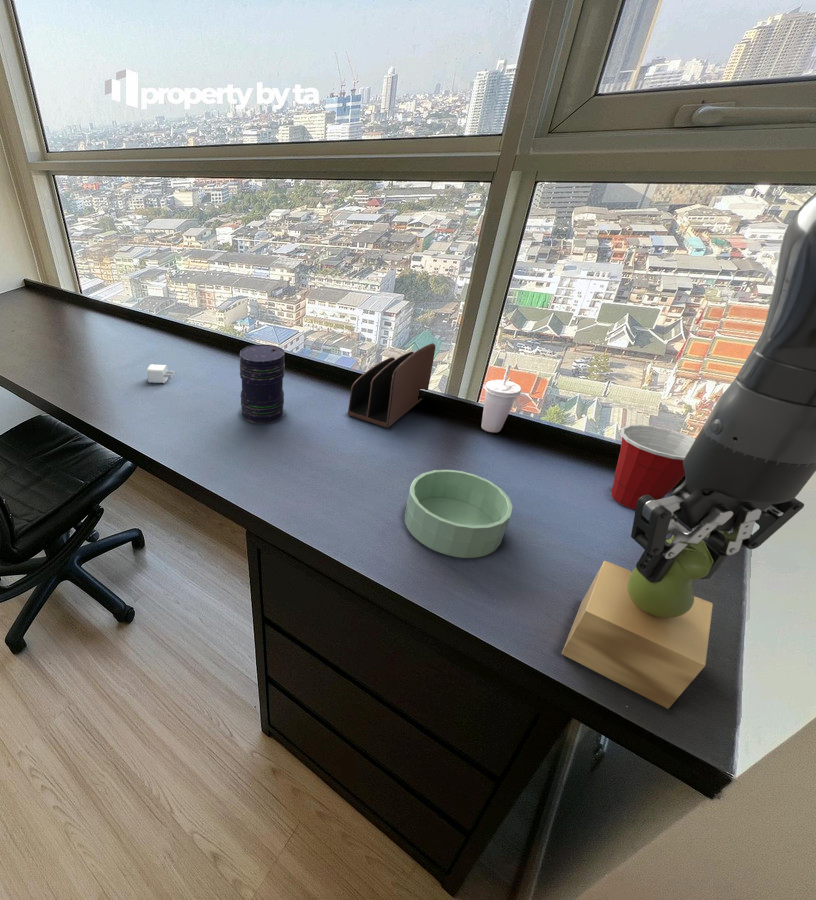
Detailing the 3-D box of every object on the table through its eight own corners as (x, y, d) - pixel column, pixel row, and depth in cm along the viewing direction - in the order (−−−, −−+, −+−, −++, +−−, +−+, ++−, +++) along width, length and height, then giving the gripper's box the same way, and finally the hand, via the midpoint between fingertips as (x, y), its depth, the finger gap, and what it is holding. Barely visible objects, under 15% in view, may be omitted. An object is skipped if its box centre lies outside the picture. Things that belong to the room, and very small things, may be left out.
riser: (679, 647, 58) (713, 603, 53) (668, 709, 52) (705, 665, 47) (581, 603, 64) (604, 560, 59) (561, 654, 58) (585, 610, 53)
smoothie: (507, 423, 102) (527, 361, 94) (508, 438, 97) (529, 374, 90) (474, 418, 104) (490, 357, 97) (473, 432, 100) (491, 370, 92)
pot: (523, 542, 73) (535, 512, 70) (446, 569, 70) (455, 538, 66) (455, 489, 84) (463, 462, 81) (386, 510, 81) (391, 481, 78)
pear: (616, 581, 56) (653, 517, 51) (674, 597, 54) (719, 531, 49) (623, 617, 52) (664, 551, 47) (686, 635, 50) (737, 568, 45)
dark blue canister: (253, 427, 106) (252, 365, 98) (233, 409, 114) (231, 349, 106) (291, 416, 109) (293, 355, 101) (270, 399, 117) (270, 341, 109)
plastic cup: (682, 499, 79) (719, 437, 73) (665, 530, 74) (704, 466, 67) (604, 472, 86) (632, 413, 80) (583, 499, 81) (612, 438, 74)
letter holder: (427, 396, 114) (439, 339, 107) (388, 429, 103) (398, 368, 95) (388, 385, 120) (396, 330, 113) (346, 415, 109) (353, 356, 101)
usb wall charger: (153, 377, 132) (151, 363, 130) (177, 378, 131) (175, 364, 129) (148, 383, 129) (146, 369, 127) (173, 384, 128) (171, 370, 125)
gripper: (720, 466, 38) (630, 608, 47) (901, 454, 38) (775, 598, 47) (646, 420, 44) (579, 553, 53) (800, 409, 44) (707, 544, 53)
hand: (671, 574), depth 50 cm, fingers closed on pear, 4 cm apart
